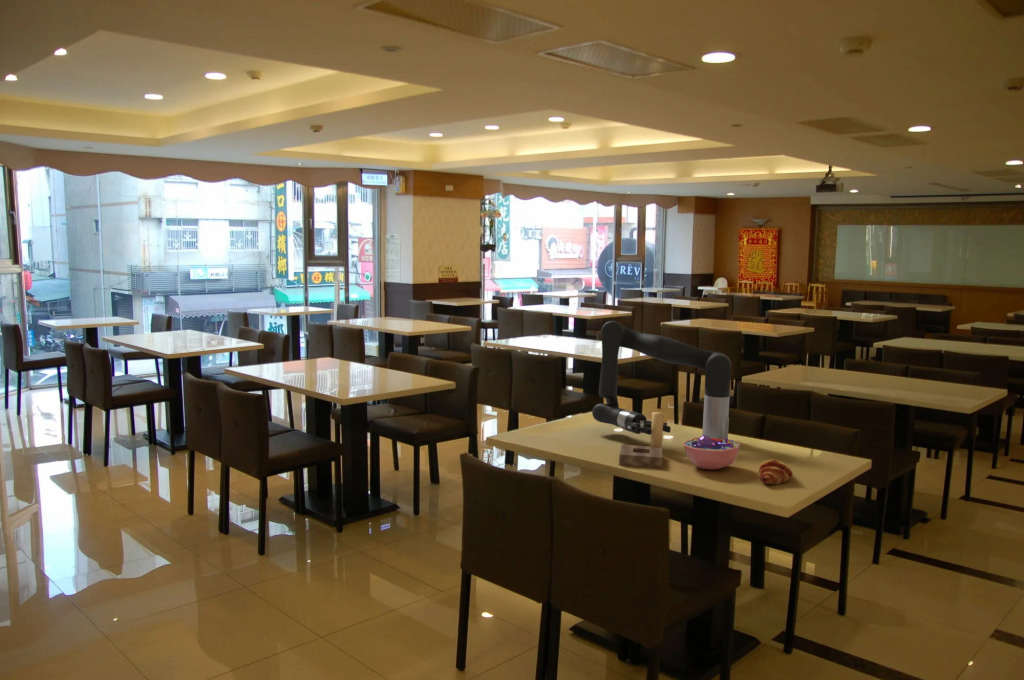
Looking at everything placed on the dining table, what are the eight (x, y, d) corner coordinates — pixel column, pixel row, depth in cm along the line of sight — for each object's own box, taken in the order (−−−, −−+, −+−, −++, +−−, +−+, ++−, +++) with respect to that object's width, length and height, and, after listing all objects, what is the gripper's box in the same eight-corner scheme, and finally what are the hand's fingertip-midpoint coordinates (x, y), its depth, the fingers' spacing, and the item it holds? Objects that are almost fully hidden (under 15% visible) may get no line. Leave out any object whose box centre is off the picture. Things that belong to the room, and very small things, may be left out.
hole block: (661, 457, 265) (662, 447, 265) (661, 467, 251) (662, 457, 251) (621, 454, 268) (621, 444, 267) (619, 464, 254) (619, 454, 254)
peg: (661, 450, 274) (663, 412, 272) (661, 453, 270) (663, 414, 268) (650, 449, 275) (652, 411, 273) (650, 452, 271) (651, 413, 269)
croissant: (774, 480, 253) (764, 457, 254) (803, 471, 247) (792, 448, 249) (756, 495, 235) (745, 470, 236) (786, 485, 230) (775, 460, 231)
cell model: (751, 470, 251) (753, 437, 250) (706, 478, 241) (708, 443, 240) (714, 458, 266) (716, 426, 264) (670, 464, 256) (672, 431, 254)
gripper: (616, 413, 280) (645, 422, 266) (647, 410, 287) (676, 418, 273) (616, 433, 281) (644, 443, 267) (646, 429, 288) (675, 439, 274)
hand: (660, 430), depth 270 cm, fingers open, 8 cm apart
